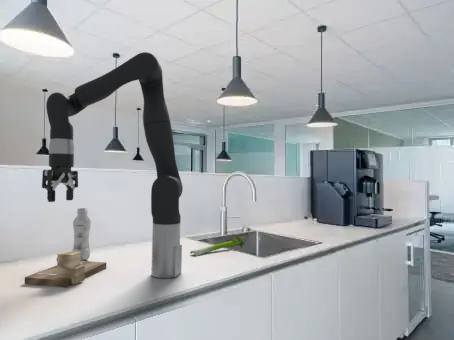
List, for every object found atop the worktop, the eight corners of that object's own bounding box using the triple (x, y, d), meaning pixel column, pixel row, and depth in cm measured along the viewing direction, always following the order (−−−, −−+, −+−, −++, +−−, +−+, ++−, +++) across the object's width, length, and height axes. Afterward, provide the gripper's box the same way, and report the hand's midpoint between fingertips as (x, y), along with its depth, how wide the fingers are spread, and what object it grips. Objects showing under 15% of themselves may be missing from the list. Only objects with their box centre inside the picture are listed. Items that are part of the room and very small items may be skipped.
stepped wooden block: (84, 280, 98) (85, 252, 98) (76, 284, 94) (76, 255, 94) (62, 278, 99) (63, 250, 100) (53, 282, 95) (54, 253, 96)
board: (106, 268, 113) (106, 262, 113) (66, 287, 92) (66, 280, 92) (71, 265, 116) (71, 259, 116) (24, 283, 95) (24, 276, 95)
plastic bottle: (69, 263, 118) (71, 209, 119) (73, 258, 125) (75, 208, 126) (88, 262, 120) (90, 209, 121) (91, 258, 127) (92, 207, 127)
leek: (188, 259, 137) (238, 244, 157) (197, 264, 132) (248, 249, 152) (188, 245, 136) (239, 232, 156) (198, 250, 131) (249, 236, 151)
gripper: (55, 151, 100) (55, 202, 100) (84, 154, 114) (84, 199, 114) (35, 151, 102) (34, 202, 101) (66, 155, 116) (65, 199, 115)
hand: (60, 201), depth 107 cm, fingers open, 8 cm apart
